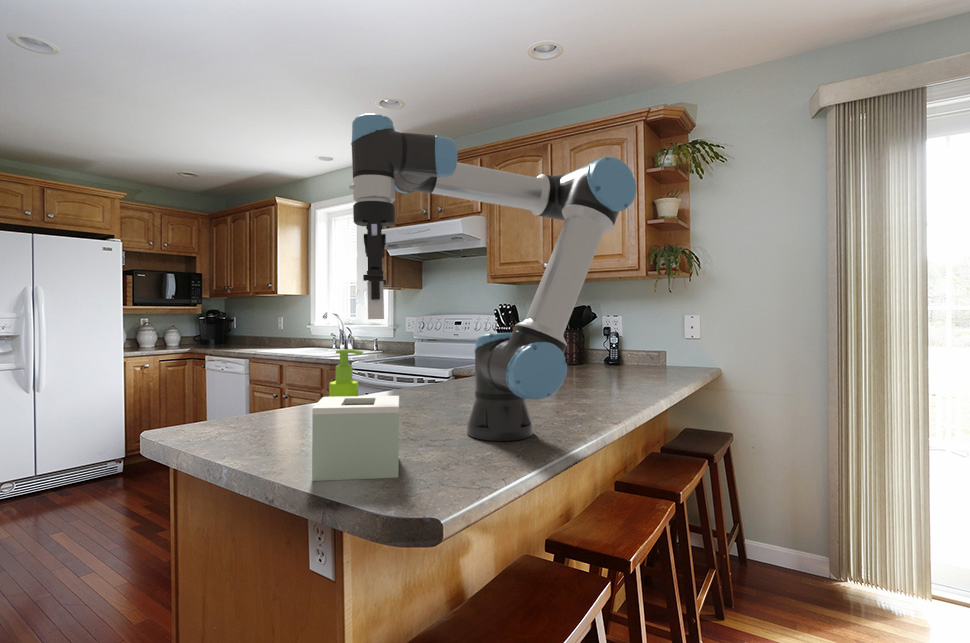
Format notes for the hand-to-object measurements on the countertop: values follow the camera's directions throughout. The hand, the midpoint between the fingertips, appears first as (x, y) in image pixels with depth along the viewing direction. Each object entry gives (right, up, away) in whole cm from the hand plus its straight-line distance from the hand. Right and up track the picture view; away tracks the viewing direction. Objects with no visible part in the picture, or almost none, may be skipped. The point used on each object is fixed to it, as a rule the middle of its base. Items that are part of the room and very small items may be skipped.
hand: (376, 318), depth 98 cm
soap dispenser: (-9, -27, +13) cm, 31 cm away
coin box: (-2, -27, -4) cm, 27 cm away
